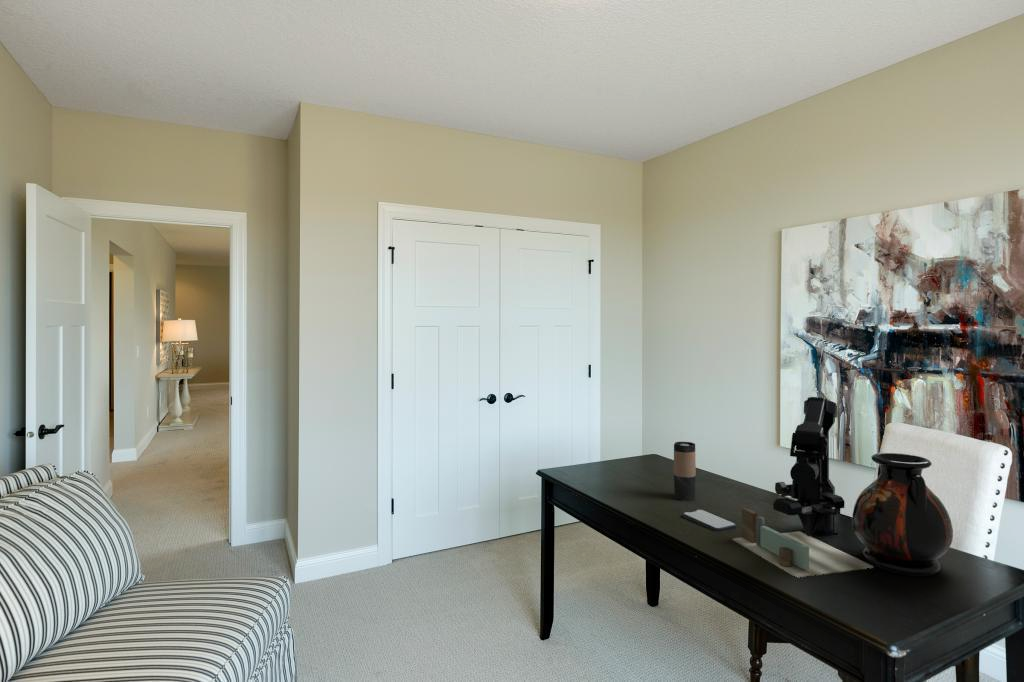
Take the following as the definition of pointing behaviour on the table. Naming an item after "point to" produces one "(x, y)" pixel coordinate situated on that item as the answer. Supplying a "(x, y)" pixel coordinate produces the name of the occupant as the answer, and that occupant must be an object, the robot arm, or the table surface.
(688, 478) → the travel mug
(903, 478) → the amphora vase
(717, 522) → the phone case
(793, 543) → the gate
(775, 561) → the gate base
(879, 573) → the table surface
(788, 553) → the stop post
